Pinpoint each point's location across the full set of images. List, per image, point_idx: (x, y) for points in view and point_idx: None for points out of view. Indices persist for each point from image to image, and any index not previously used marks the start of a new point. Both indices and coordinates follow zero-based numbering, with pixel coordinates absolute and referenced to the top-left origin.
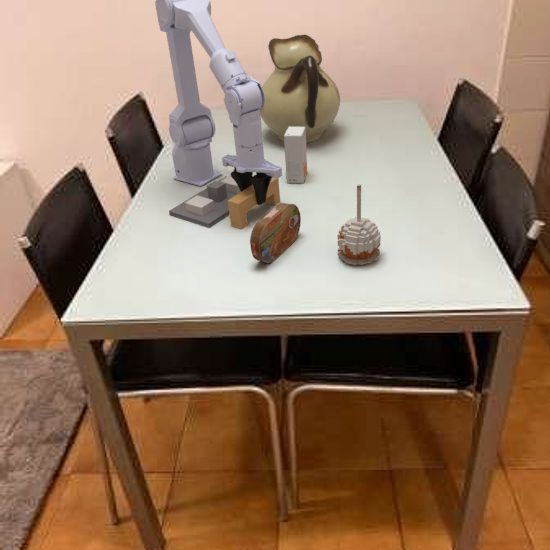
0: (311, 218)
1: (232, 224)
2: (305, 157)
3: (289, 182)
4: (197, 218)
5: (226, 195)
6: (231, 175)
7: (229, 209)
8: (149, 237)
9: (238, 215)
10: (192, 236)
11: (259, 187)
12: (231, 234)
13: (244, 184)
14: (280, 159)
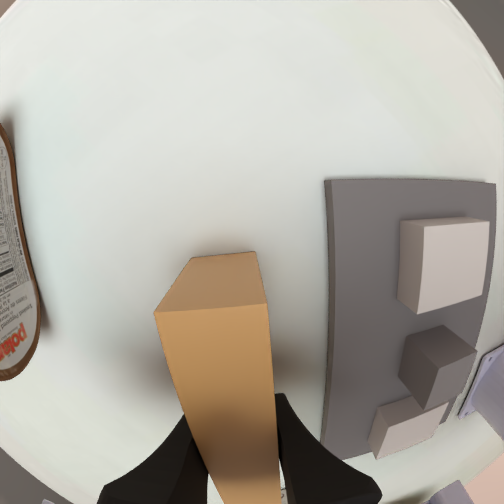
0: (88, 411)
1: (245, 255)
2: None
3: (282, 490)
4: (403, 190)
5: (401, 378)
6: (363, 488)
7: (254, 278)
8: (428, 42)
9: (189, 278)
10: (329, 91)
11: (134, 469)
12: (195, 196)
13: (286, 465)
14: None
